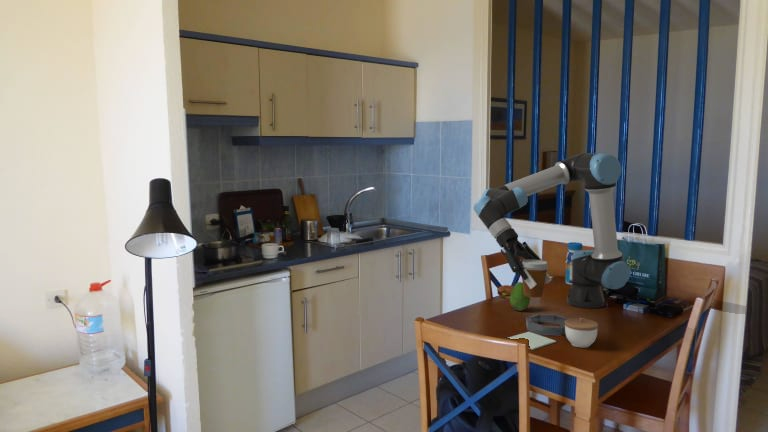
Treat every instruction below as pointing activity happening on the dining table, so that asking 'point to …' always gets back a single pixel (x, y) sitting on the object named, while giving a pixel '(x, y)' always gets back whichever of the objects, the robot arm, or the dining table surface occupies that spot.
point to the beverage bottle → (572, 248)
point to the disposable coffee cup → (535, 277)
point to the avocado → (519, 297)
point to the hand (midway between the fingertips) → (541, 284)
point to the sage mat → (534, 340)
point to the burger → (505, 291)
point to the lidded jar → (581, 331)
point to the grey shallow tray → (546, 330)
